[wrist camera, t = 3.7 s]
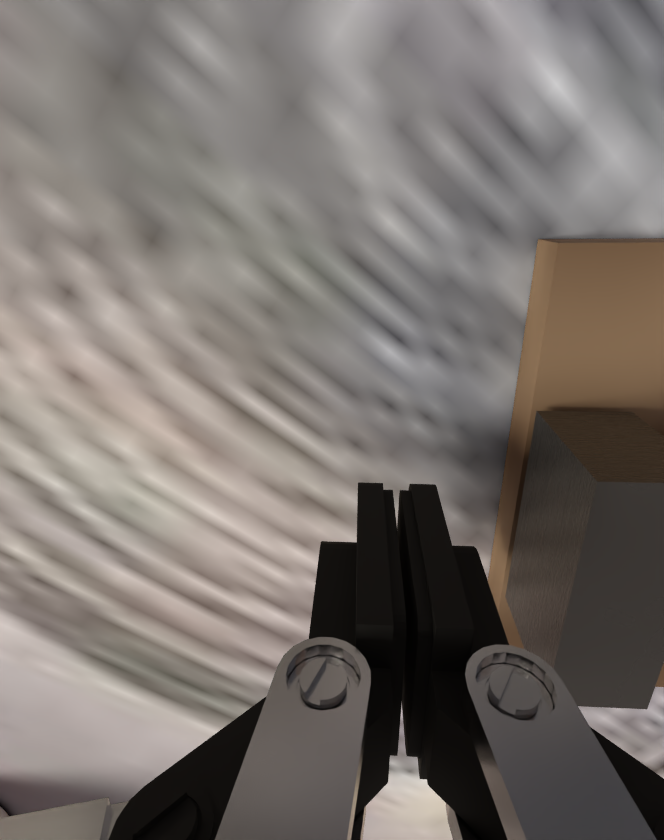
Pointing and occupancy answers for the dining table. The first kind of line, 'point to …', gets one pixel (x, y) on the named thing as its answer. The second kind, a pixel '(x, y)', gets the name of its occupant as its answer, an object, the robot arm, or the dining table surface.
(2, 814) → the pill bottle
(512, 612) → the grey and white block
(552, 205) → the dining table surface
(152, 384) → the dining table surface
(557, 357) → the wooden board
